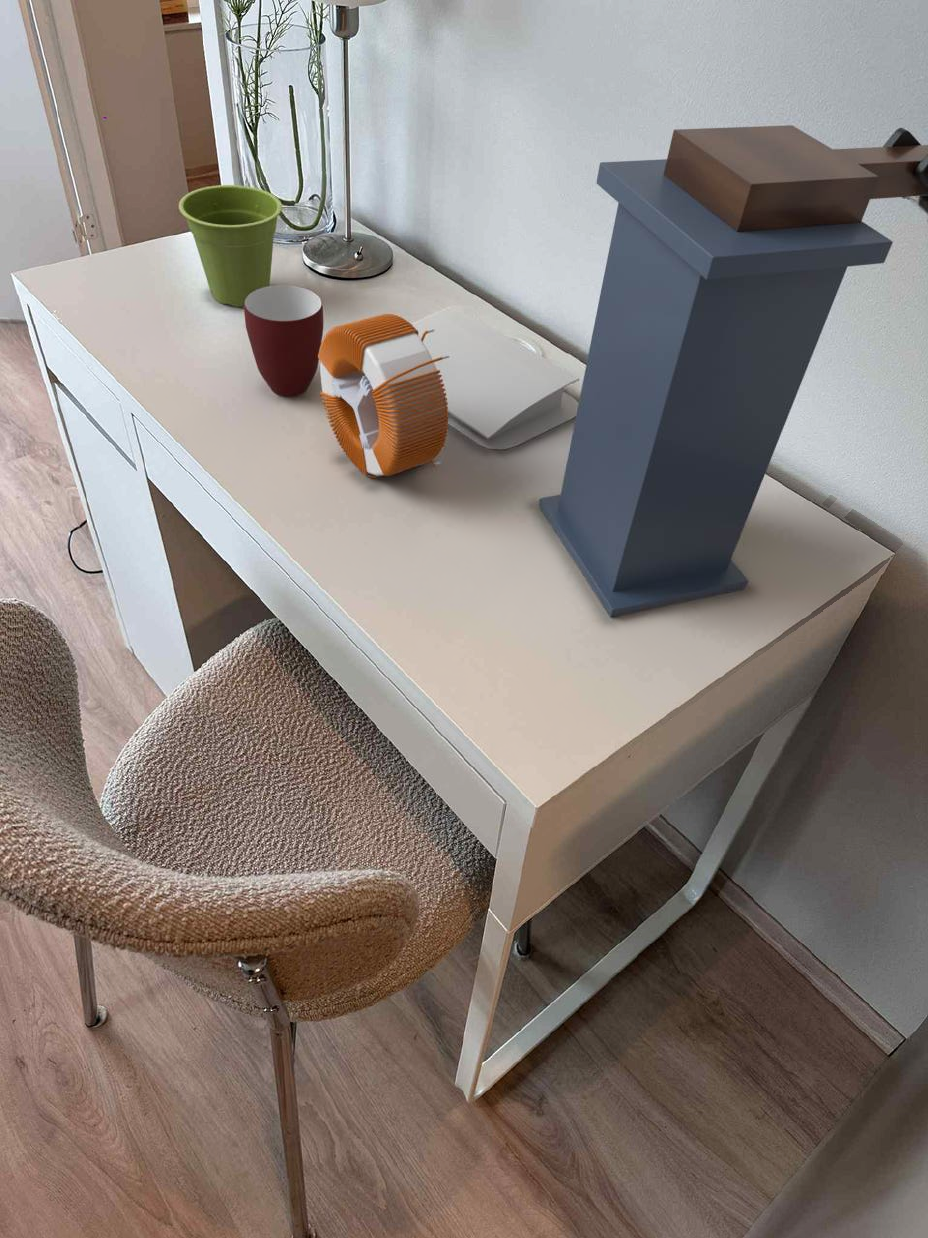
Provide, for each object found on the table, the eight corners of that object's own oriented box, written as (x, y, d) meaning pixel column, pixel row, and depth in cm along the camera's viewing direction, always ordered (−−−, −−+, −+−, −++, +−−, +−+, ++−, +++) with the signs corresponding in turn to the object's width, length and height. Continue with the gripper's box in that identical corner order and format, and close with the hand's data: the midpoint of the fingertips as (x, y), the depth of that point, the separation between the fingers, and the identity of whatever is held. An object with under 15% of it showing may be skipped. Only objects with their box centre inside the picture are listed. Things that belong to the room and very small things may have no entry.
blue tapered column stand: (661, 484, 92) (760, 154, 69) (745, 588, 82) (893, 241, 59) (538, 505, 88) (599, 161, 65) (610, 617, 77) (712, 256, 55)
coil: (394, 509, 85) (398, 372, 75) (316, 431, 93) (309, 297, 83) (452, 487, 89) (464, 352, 78) (372, 413, 97) (372, 281, 86)
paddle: (924, 160, 71) (942, 119, 69) (1016, 210, 65) (1038, 167, 62) (663, 174, 64) (673, 129, 62) (736, 232, 58) (751, 183, 55)
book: (454, 326, 112) (457, 296, 109) (590, 409, 101) (597, 378, 98) (358, 362, 104) (358, 331, 101) (494, 456, 93) (498, 424, 90)
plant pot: (172, 295, 111) (156, 202, 103) (240, 265, 118) (231, 176, 110) (239, 327, 107) (229, 234, 99) (307, 294, 114) (302, 205, 106)
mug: (229, 369, 100) (218, 284, 93) (292, 352, 104) (287, 269, 97) (274, 415, 95) (266, 328, 88) (339, 395, 99) (337, 310, 91)
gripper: (981, 180, 77) (885, 68, 66) (1112, 249, 68) (1025, 134, 57) (914, 257, 80) (813, 163, 70) (1030, 333, 71) (934, 238, 61)
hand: (909, 151), depth 64 cm, fingers open, 3 cm apart
